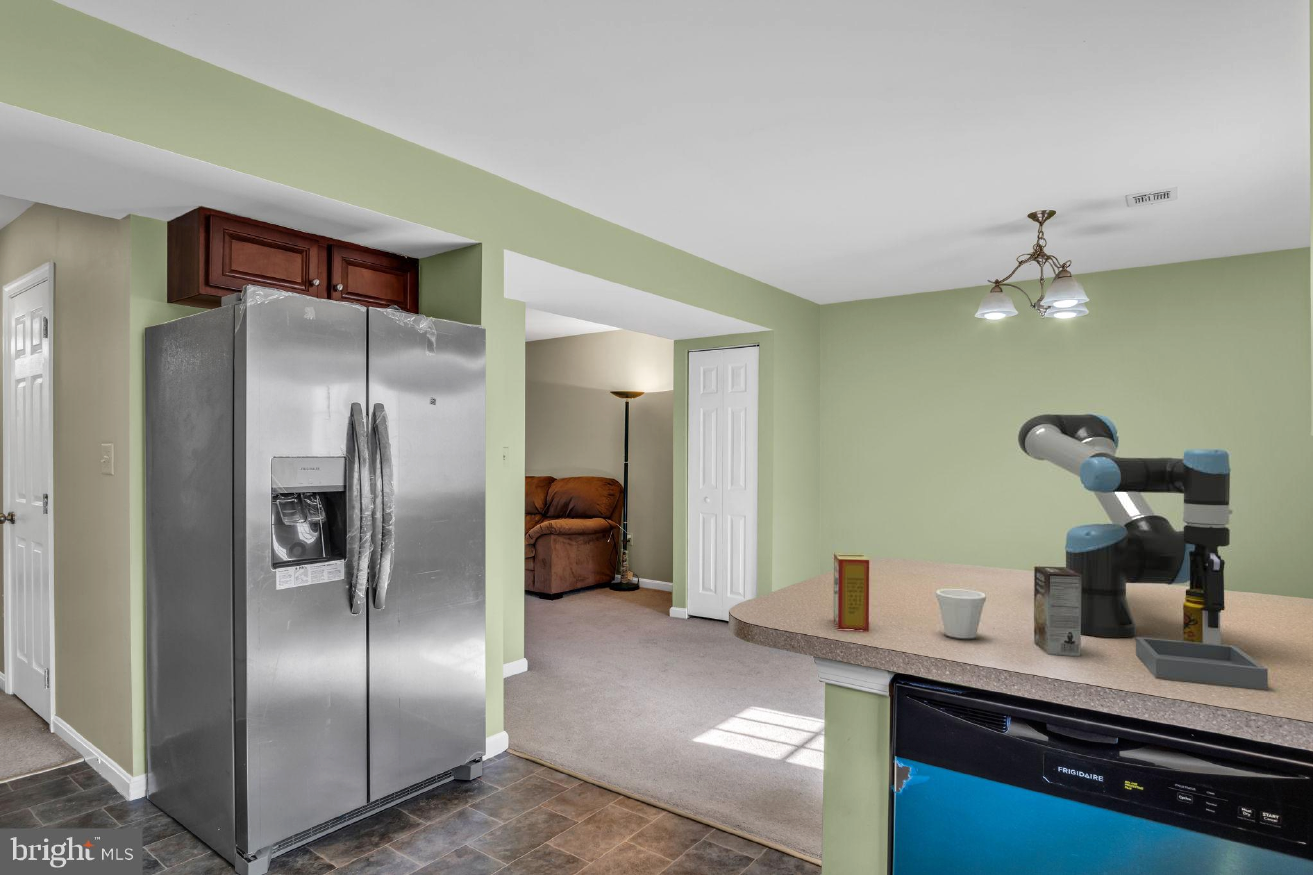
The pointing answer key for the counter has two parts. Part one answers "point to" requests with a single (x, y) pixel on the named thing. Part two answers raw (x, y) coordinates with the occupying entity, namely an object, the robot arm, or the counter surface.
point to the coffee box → (1057, 610)
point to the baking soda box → (851, 591)
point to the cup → (960, 612)
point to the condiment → (1193, 616)
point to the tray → (1201, 663)
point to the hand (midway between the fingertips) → (1206, 639)
